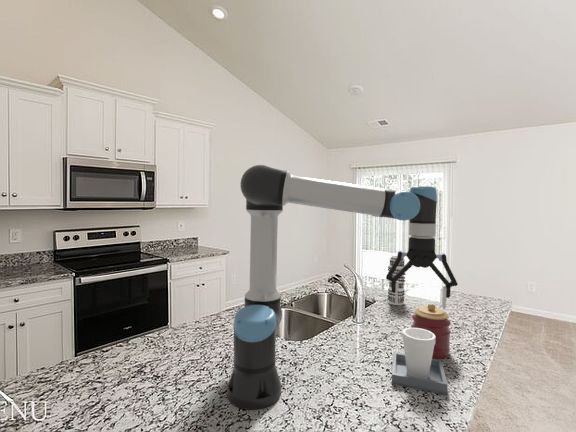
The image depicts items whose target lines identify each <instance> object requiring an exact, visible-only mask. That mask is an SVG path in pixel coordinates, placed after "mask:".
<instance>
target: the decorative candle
mask: <svg viewBox="0 0 576 432" xmlns="http://www.w3.org/2000/svg"><path fill="white" fill-rule="evenodd" d="M396 258H397V255H392V256H391V257H390V258H389V263H388V264H389V265H388V266H387V268H388V269H387V271H388V272H389V270H390V269H391V267H392V265H393V264H394V262H395V260H396ZM405 261H406V259H405V258H403V259H401V261H400V262H399V264H398V266H397V268H396V269H395V271H394V273H393V274H392V277H394V276H395V275H396V274H397V273H398V272H399V271H400V270H401V269H402V268H403V267H404V266H405V265H406V264H405ZM405 276H406V272H405V273H404V274H403V275H402V276H401V277H400V278H399V279H398V280H397V281H398V304H396V303H395V292H392V282H391V281H390V280H388V283H389V284H388V289H387V291H388V292H387V303H388V304H390V305H395V306H402V305H404V304H405V292H406V291H405V287H404V286H405V284H404V283H406V280H405V279H406V277H405Z"/></svg>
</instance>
